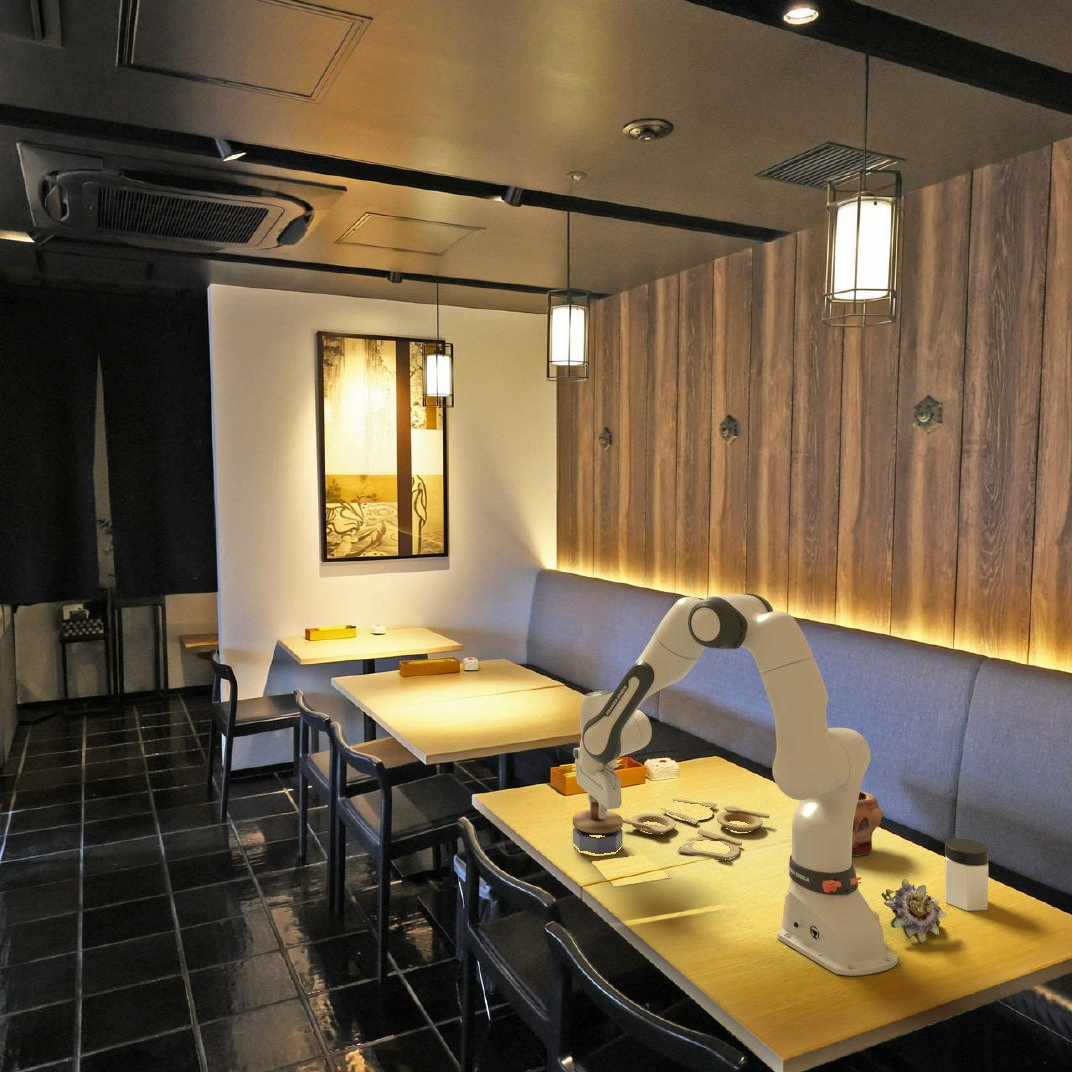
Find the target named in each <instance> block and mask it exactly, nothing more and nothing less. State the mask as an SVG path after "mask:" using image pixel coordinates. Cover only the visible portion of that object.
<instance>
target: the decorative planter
mask: <svg viewBox="0 0 1072 1072" xmlns="http://www.w3.org/2000/svg"><path fill="white" fill-rule="evenodd" d="M883 811H884V810H882V808H880V806H879V803H878V799H877V798H876V796H874V795H873V794H871V793H869V792H867V791H866V792H865V791H862V790H860V793H859V798H858V802H857V806H856V811H855V815H854V821H853V831H852V857H854V856H855V857H856V856H864V855H868V854H870V853H871V851H872V849H873V843H872V842H873V840H872V838H873V833H874V831H876V829H877V828H879V826H880V824H881V822H882V819H883V816H884V812H883Z"/></svg>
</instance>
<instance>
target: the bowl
mask: <svg viewBox="0 0 1072 1072" xmlns="http://www.w3.org/2000/svg"><path fill="white" fill-rule="evenodd" d="M623 833H624V832H623V829H622V827H621V828H620V829H619V830H617V831H614V832H610V833H589V832H584V831H581V830H579V829H577V828H575V827H574V826H573V828H572V844H573V843H574V844H575V845H576V846H577V847H578V848H579V850H580V851H588V852H591V853H595V854H604V853H611V852H616V851H617V850H618V849H619V848H620V847H621V846H622V845H623V843H624V842H623V837H624V836H623ZM589 835H602V836H605V837H600V838H596V837H591V836H589ZM622 847H623V846H622Z"/></svg>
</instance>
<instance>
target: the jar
mask: <svg viewBox="0 0 1072 1072" xmlns="http://www.w3.org/2000/svg"><path fill="white" fill-rule="evenodd" d="M944 843H945V845H944V852H945V853H944V854H945V865H944V866H945V867H944V869H945V870H944V901H945V904H948V905H951V906H952V907H953V906H954V907H956V908H958V909H960V910H963V911H966V912H970V911H971V912H972V911H973V912H974V911H988V902H989V901H988V898H989V859H990V858H989V855H990V854H989V852H990V851H989V848H988V847H987V845H985V844H984V843H982V842H979V841H976V840H971V839H967V838H950V839H947V840H946V841H945V842H944Z"/></svg>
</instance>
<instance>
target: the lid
mask: <svg viewBox="0 0 1072 1072" xmlns="http://www.w3.org/2000/svg"><path fill="white" fill-rule="evenodd" d="M597 810H599V804H598V801H597V802H592V803H591V810H590V809H588V810H582V811H578V812H577V813H575V814H574V815H573V816H572V825H573V828H574V827H575V828H577V829H579V830H581V831H584V832H589V833H610V832H614V831H617V830H619V829H620V828H621V829H622V828H623V825H624V823H623V819H624V818H623V817H622V816H621V815H620V814H619V813H616V812H614V811H610V810H607V811H606V818H605V819H600V818H598V817H597Z"/></svg>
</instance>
